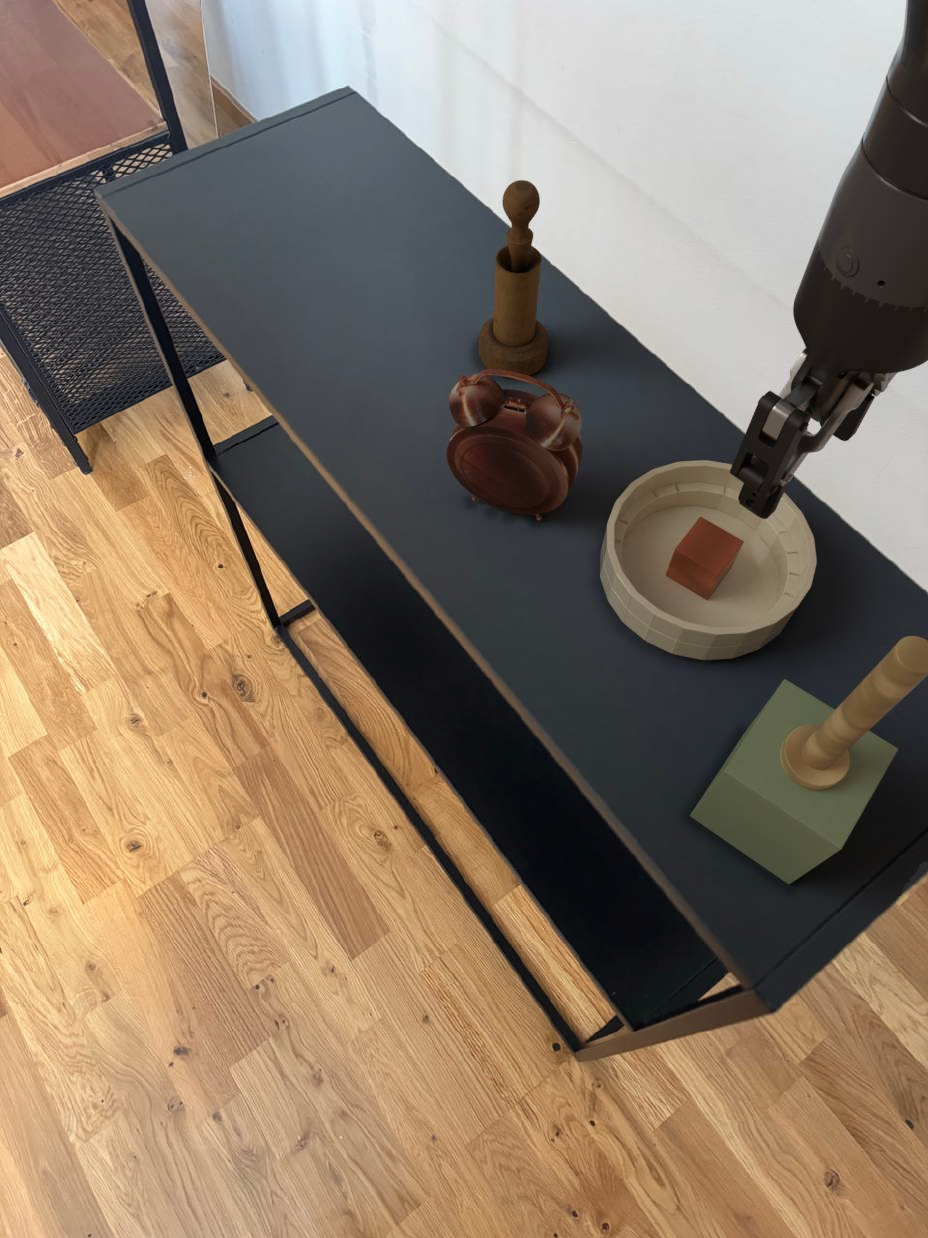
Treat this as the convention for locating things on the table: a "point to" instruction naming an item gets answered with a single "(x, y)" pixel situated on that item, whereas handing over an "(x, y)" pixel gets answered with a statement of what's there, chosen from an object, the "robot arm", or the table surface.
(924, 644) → the stick
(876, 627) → the table surface
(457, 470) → the alarm clock
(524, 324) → the mortar and pestle
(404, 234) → the table surface
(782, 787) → the stand
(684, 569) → the block
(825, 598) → the table surface
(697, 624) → the bowl
